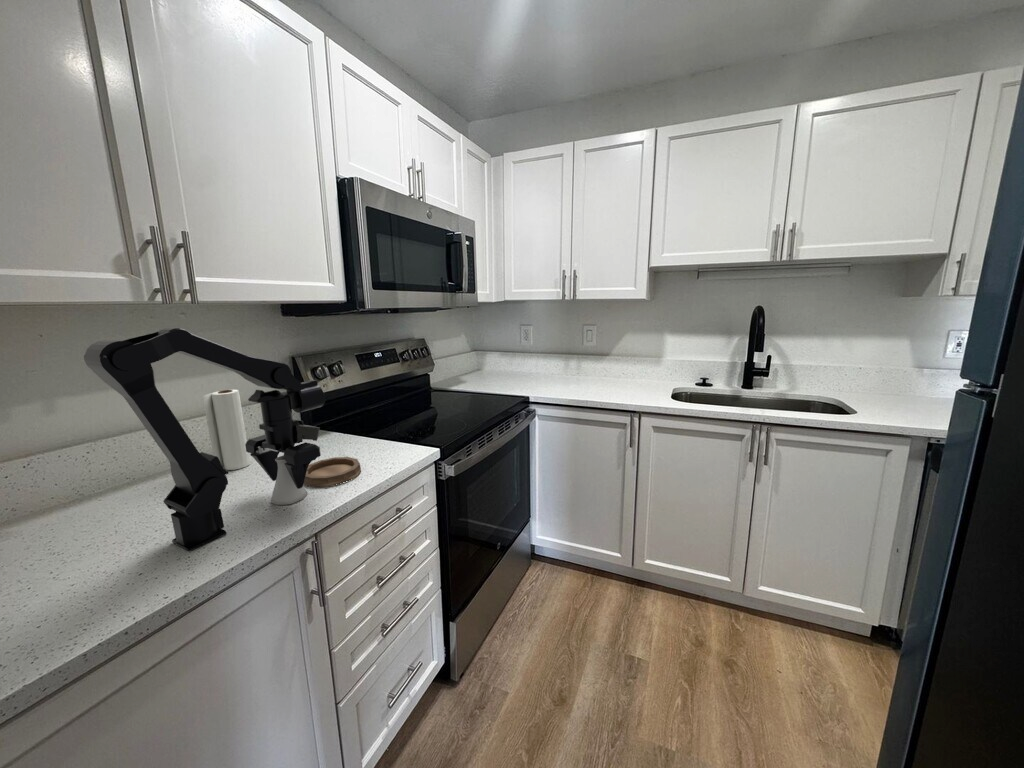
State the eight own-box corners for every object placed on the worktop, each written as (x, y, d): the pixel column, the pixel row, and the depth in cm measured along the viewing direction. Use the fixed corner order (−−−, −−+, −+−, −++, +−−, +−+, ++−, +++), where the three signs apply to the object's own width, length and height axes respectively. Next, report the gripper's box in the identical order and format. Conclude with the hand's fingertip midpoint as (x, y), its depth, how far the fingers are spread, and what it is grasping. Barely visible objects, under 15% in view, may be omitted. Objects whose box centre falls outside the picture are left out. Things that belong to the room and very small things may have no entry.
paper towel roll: (253, 460, 116) (241, 388, 112) (247, 468, 111) (234, 392, 106) (224, 464, 114) (211, 390, 110) (216, 472, 108) (202, 394, 104)
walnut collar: (326, 491, 96) (325, 482, 95) (290, 480, 102) (288, 472, 102) (372, 470, 108) (371, 461, 107) (337, 461, 114) (336, 453, 114)
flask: (291, 507, 89) (285, 464, 87) (263, 504, 90) (257, 462, 88) (314, 492, 96) (308, 452, 94) (287, 490, 97) (281, 450, 95)
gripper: (337, 413, 92) (344, 477, 95) (286, 405, 100) (294, 464, 104) (290, 427, 82) (300, 498, 85) (239, 416, 91) (249, 481, 94)
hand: (287, 483), depth 92 cm, fingers open, 9 cm apart
